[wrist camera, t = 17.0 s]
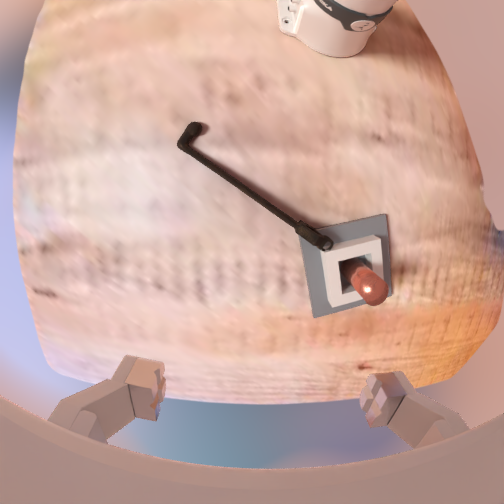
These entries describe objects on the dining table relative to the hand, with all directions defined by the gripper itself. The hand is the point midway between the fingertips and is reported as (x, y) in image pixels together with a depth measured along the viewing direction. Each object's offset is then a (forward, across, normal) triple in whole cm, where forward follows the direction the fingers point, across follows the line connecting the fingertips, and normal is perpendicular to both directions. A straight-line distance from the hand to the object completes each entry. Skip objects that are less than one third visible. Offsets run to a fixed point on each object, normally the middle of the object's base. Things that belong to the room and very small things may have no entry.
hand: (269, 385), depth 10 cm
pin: (+36, -18, +6) cm, 41 cm away
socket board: (+37, -18, +6) cm, 42 cm away
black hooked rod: (+38, -1, -6) cm, 38 cm away
